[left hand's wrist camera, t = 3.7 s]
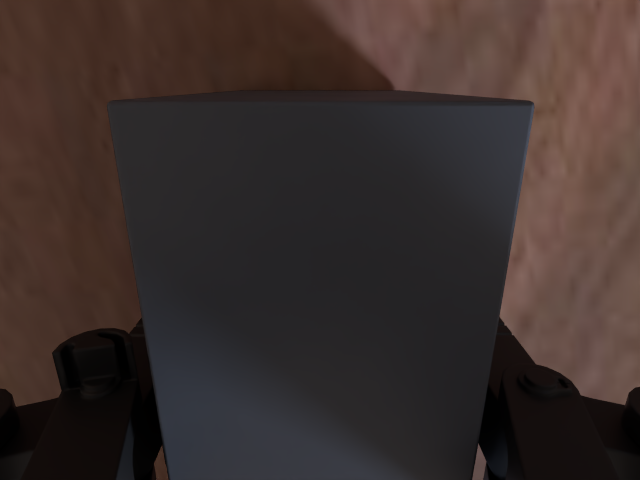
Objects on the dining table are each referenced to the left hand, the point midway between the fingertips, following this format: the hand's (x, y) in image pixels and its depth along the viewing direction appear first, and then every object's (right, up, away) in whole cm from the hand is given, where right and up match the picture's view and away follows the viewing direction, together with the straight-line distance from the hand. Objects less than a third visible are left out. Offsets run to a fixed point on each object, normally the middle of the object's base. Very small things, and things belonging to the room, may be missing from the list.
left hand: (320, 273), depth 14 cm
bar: (0, -20, +8) cm, 21 cm away
